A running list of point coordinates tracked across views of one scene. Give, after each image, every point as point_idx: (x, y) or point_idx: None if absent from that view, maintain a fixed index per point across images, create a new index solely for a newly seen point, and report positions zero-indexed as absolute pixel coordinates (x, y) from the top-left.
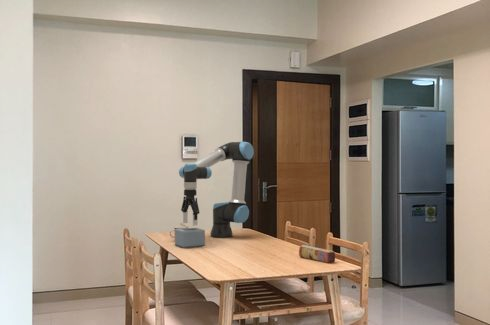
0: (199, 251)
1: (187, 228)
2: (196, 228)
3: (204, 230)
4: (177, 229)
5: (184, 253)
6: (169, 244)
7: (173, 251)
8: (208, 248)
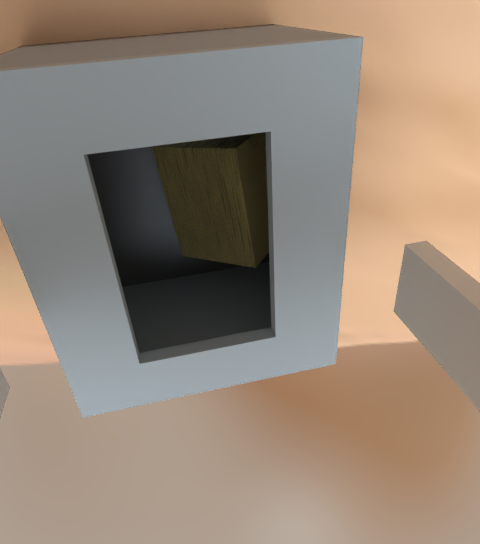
0: (461, 181)
1: (50, 267)
2: (96, 117)
3: (356, 45)
4: (126, 399)
5: None
6: (11, 322)
7: (345, 342)
8: (395, 37)
